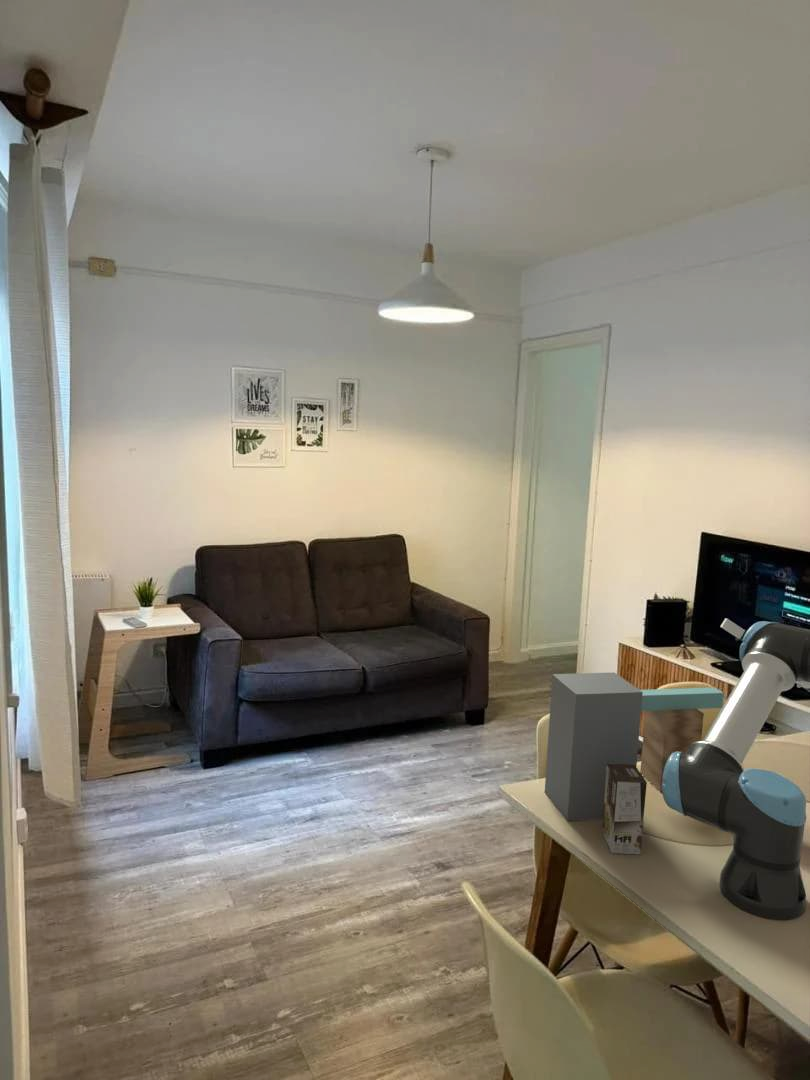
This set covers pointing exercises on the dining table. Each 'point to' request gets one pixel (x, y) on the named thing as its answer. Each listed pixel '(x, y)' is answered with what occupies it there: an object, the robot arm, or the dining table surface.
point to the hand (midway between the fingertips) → (739, 629)
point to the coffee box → (624, 808)
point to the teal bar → (681, 699)
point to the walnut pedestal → (667, 739)
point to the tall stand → (589, 739)
